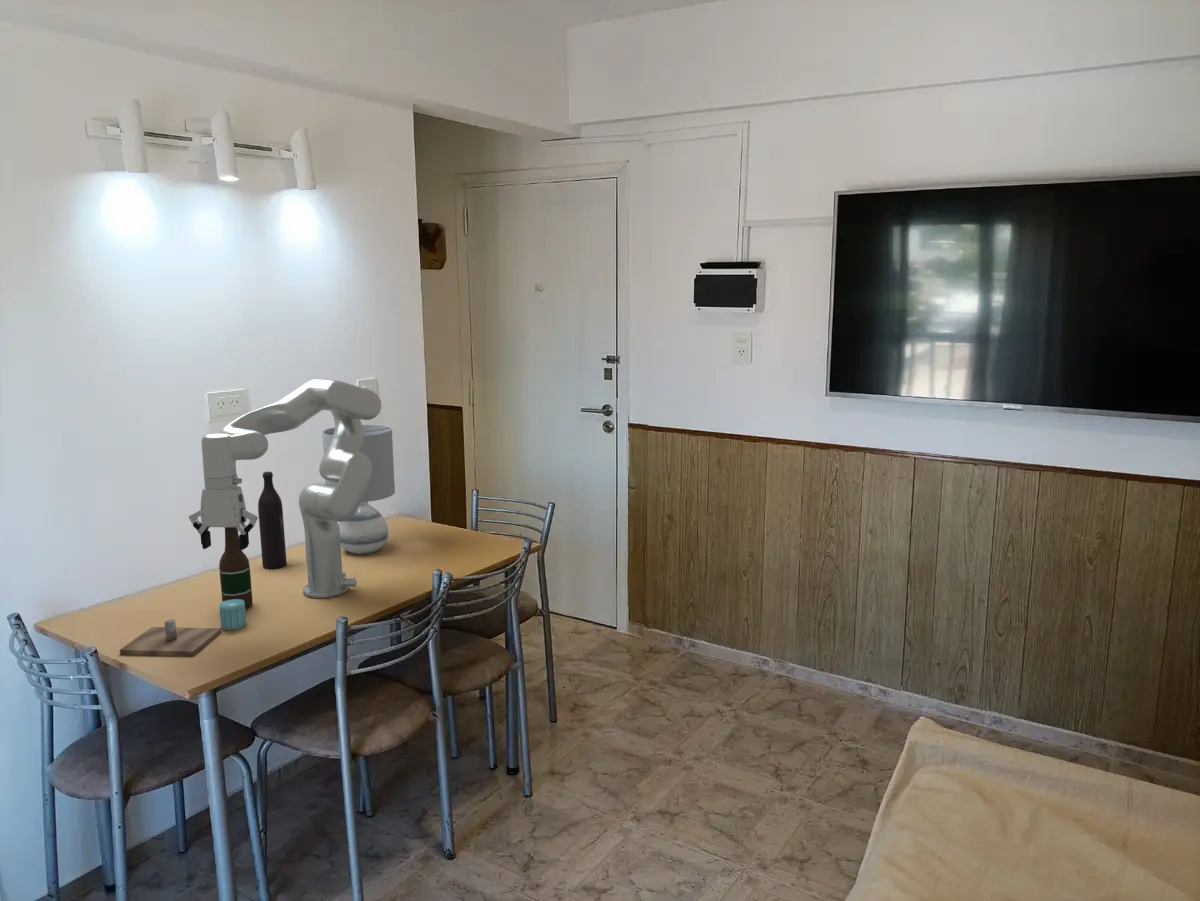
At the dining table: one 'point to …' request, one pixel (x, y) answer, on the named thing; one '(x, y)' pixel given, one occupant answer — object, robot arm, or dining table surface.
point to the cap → (232, 614)
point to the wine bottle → (271, 526)
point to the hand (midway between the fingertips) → (225, 548)
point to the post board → (171, 641)
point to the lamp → (369, 492)
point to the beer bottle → (235, 570)
